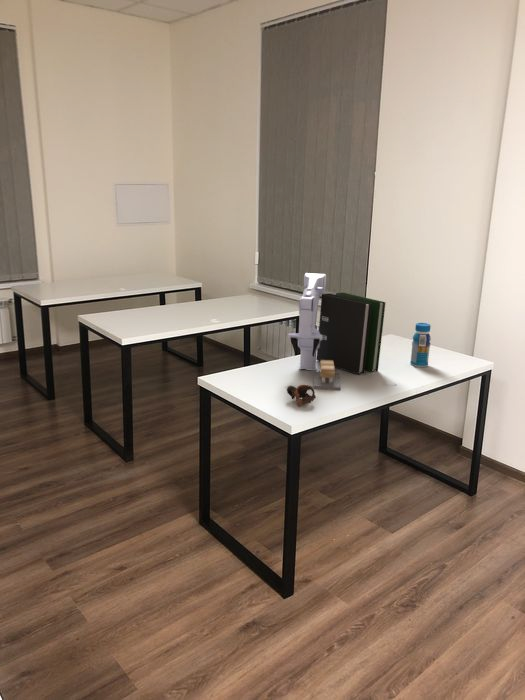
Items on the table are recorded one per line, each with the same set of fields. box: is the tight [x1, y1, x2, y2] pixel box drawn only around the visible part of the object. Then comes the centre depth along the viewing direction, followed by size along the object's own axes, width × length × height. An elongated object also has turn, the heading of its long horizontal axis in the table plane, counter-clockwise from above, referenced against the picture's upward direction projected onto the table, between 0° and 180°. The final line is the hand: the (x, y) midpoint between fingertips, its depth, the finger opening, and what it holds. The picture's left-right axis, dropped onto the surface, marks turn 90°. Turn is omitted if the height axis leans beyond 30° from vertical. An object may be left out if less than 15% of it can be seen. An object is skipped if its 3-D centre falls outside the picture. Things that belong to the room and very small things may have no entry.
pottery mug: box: [286, 384, 317, 407], centre depth 225 cm, size 12×10×8 cm
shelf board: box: [319, 360, 336, 378], centre depth 249 cm, size 14×6×4 cm, turn 176°
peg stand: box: [312, 370, 342, 391], centre depth 250 cm, size 20×11×4 cm, turn 176°
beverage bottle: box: [410, 322, 432, 368], centre depth 276 cm, size 8×8×20 cm
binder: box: [316, 292, 386, 376], centre depth 270 cm, size 27×15×32 cm, turn 37°
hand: (304, 355), depth 254 cm, fingers open, 7 cm apart
